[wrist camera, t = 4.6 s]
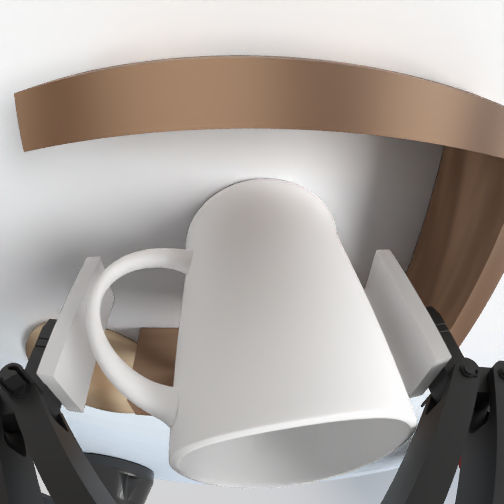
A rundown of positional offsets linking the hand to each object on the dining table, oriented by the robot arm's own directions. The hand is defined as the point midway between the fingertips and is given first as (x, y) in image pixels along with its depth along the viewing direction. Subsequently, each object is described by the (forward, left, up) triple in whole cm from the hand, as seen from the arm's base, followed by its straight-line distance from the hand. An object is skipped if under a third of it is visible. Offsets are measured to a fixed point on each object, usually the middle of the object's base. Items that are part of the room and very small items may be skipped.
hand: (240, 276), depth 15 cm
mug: (0, 0, -4) cm, 4 cm away
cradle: (+3, 0, -3) cm, 5 cm away
